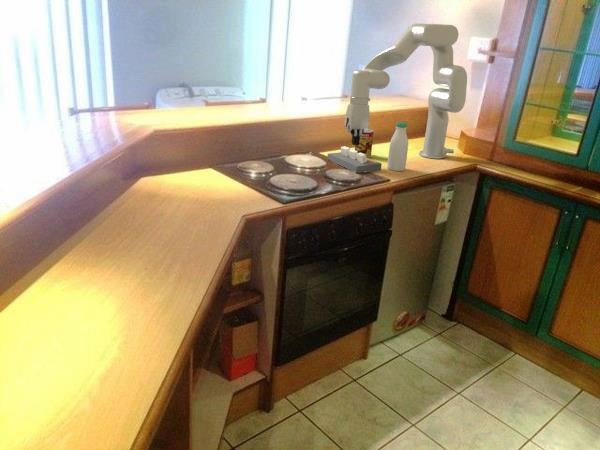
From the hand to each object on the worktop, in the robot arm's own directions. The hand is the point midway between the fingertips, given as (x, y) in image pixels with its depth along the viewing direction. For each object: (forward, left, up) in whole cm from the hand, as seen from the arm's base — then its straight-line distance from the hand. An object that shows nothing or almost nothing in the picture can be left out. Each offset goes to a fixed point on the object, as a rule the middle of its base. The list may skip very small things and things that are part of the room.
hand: (355, 144), depth 210 cm
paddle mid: (0, 0, -6) cm, 6 cm away
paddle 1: (+3, -5, -6) cm, 9 cm away
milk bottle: (-18, +3, -9) cm, 21 cm away
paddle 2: (-3, +5, -6) cm, 9 cm away
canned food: (-6, -17, -9) cm, 21 cm away
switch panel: (0, 0, -9) cm, 9 cm away
